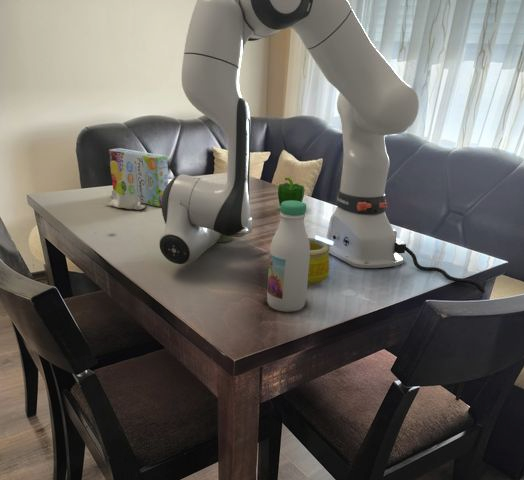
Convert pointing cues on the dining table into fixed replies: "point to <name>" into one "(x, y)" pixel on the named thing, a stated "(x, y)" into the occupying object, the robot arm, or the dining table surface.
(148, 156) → the snack box
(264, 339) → the dining table surface
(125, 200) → the fabric
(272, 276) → the milk bottle
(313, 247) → the mug
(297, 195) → the bell pepper
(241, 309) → the dining table surface
